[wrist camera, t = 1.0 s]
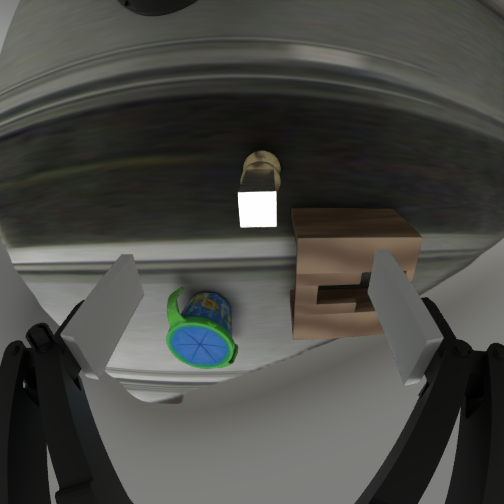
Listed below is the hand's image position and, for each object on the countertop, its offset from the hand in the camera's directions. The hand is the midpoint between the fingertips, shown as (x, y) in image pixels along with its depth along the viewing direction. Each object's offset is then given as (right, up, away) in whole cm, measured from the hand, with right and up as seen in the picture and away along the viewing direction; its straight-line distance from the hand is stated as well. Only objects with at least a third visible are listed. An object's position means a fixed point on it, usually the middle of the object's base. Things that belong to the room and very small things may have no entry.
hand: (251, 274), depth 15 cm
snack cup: (-7, -8, +35) cm, 37 cm away
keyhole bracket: (+14, +1, +29) cm, 32 cm away
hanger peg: (+1, +13, +23) cm, 26 cm away
